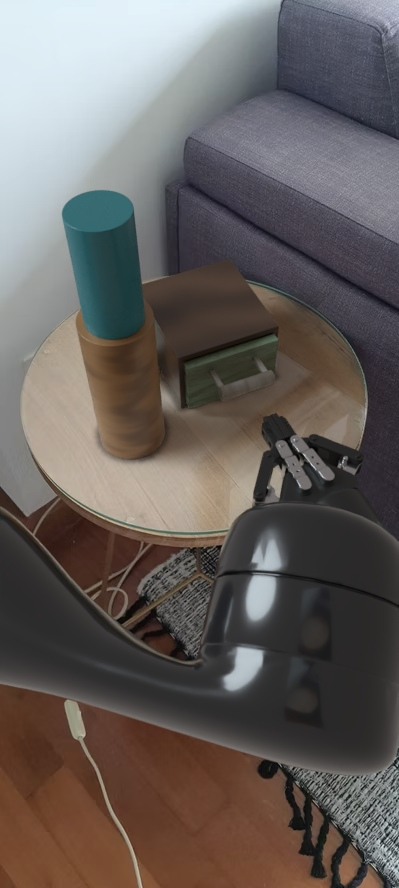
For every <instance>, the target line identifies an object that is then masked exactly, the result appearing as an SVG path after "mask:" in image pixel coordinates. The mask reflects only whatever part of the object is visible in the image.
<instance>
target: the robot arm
mask: <svg viewBox="0 0 399 888" xmlns="http://www.w3.org/2000/svg"><path fill="white" fill-rule="evenodd" d="M260 434H261V435H260V436H261V437H262V438H263V440H264V441H265V443H266V445H267V446H268V448H269V450H268V449H267V450H265V451H264V452H263V453H262V456H261V460H260V463H259V468H258V472H257V476H256V478H255V479H256V480H255V484H254V488H253V492H252V501H251V503H252V505H251V507H250V508H247V509H245V510H244V511H243V512H241V513H240V514H239V515H238V516H236V517H235V518H234V520H233V521H232V523H231V525H230V527H229V528H228V530H227V532H226V535H225V537H224V540H223V542H222V545H221V548H220V552H219V554H218V557H217V563H216V565H215V566H216V567H215V570H214V575H213V582H212V584H211V587H210V588H211V589H210V593H209V594H210V595H209V598H208V603H207V607H206V612H205V617H204V622H203V627H202V631H201V635H200V640H199V648H198V652H197V654H196V657H195V659H192V660H182V659H179V658H176V657H173V656H170V655H168V654H166V653H164V652H161V651H159V650H158V649H156V648H155V647H153V646H151V644H148V643H147V642H145V641H144V640H142V639H141V638H139V637H138V636H137V635H136V634H134V633H133V632H131V631H130V630H129V629H128V628H126V627H125V626H123V625H122V624H121V623H120V622H119V621H117V620H116V619H115V618H114V617H113V616H112V615H111V614H110V613H108V611H106V610H105V609H104V608H103V607H101V606H100V605H99V604H98V603H97V602H96V601H95V600H94V599H93V598H92V597H91V596H90V595H89V594H88V593H87V592H86V591H85V590H84V589H83V588H82V587H81V586H80V585H79V584H78V583H77V582H76V581H75V580H74V578H73V577H72V576H71V575H70V574H69V572H67V570H65V569H66V568H64V567H63V566H62V564H61V563H60V562H59V561H58V560H57V558H55V556H54V555H53V554H52V553H51V552H50V551H49V550H48V548H47V546H45V545H44V544H43V542H41V541H40V540H39V538H37V537H36V535H35V534H34V533H32V532H31V530H30V529H29V528H28V527H27V526H26V525H24V523H23V522H21V521H20V520H19V519H18V518H17V517H16V516H15V515H14V514H13V513H11V512H10V511H9V510H7V509H6V508H4V507H3V506H1V505H0V685H4V686H9V687H14V688H19V689H24V690H28V691H33V692H37V693H40V694H45V695H49V696H53V697H57V698H61V699H64V700H67V701H71V702H75V703H80V704H81V705H86V706H90V707H93V708H95V709H99V710H102V711H106V712H109V713H112V714H116V715H119V716H122V717H126V718H129V719H132V720H135V721H138V722H141V723H145V724H148V725H151V726H154V727H158V728H161V729H164V730H167V731H171V732H174V733H176V734H177V733H178V734H181V735H184V736H187V737H189V738H193V739H197V740H200V741H202V742H207V743H210V744H213V745H216V746H218V747H223V748H226V749H229V750H232V751H235V752H239V753H242V754H246V755H249V756H252V757H256V758H259V759H262V760H266V761H270V762H274V763H278V764H280V765H285V766H288V767H293V768H297V769H301V770H307V771H311V772H317V773H323V774H329V775H336V776H348V777H349V776H350V777H360V776H361V777H362V776H370V775H374V774H378V773H380V772H383V771H384V770H386V769H388V768H389V767H390V766H391V765H392V764H393V763H394V762H395V759H396V757H397V754H398V750H399V539H398V538H397V537H396V536H395V535H394V534H393V533H391V532H390V530H389V529H388V527H387V526H386V524H385V523H384V521H383V520H382V519H381V517H380V516H379V514H378V513H377V511H376V510H375V509H374V507H373V506H372V504H371V503H370V502H369V500H368V498H367V497H366V496H365V494H364V492H363V491H361V490H360V489H359V485H358V478H357V475H358V474H359V473H360V472H361V469H362V466H363V463H364V459H365V454H364V453H363V452H362V451H361V450H357V449H355V448H353V447H351V446H347V445H345V444H342V443H340V442H338V441H335V440H333V439H329V438H327V437H324V436H322V435H320V434H317V433H311V434H309V436H306V437H305V436H304V437H303V436H302V437H301V435H298V434H297V433H296V431H295V430H294V428H293V426H292V425H291V424H290V422H289V421H288V419H287V418H286V417H285V416H283V415H280V416H279V414H278V413H277V412H274V413H270V414H268V415H266V416H263V419H262V422H261V427H260ZM276 467H277V468H278V470H279V472H280V474H281V475H280V476H281V479H282V482H281V487H280V493H279V497H278V496H277V495H276V489H275V488H274V487H273V486H272V484H271V480H272V476H273V472H274V469H275V468H276Z"/></svg>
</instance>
